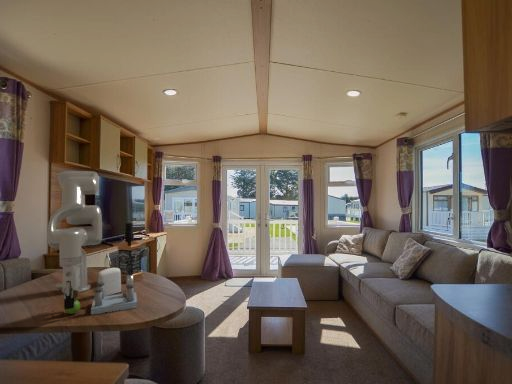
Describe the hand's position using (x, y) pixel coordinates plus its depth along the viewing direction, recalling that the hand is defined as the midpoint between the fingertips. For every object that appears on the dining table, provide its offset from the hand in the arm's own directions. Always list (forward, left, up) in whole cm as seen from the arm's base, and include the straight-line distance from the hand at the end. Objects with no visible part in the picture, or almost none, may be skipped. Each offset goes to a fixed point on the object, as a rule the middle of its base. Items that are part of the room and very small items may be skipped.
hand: (71, 304), depth 122 cm
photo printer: (+13, +20, -4) cm, 24 cm away
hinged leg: (+22, +4, -1) cm, 22 cm away
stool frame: (+16, +2, -4) cm, 17 cm away
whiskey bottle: (+22, +42, -4) cm, 48 cm away
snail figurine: (0, 0, -4) cm, 4 cm away
